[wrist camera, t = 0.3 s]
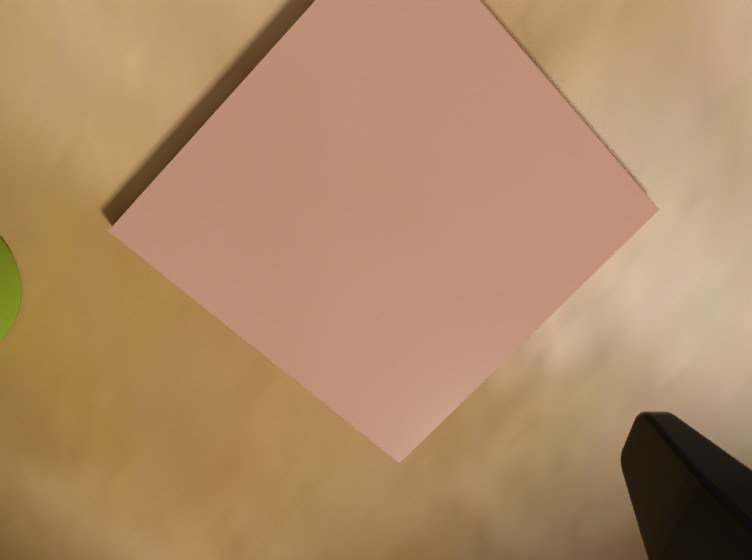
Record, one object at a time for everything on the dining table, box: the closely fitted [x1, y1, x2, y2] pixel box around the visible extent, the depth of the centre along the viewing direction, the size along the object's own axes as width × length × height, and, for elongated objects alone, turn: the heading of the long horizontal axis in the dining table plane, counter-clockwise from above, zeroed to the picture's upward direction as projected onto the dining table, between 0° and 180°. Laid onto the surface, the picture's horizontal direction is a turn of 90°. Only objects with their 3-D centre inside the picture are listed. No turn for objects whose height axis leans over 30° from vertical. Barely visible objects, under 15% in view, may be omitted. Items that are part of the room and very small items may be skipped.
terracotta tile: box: [109, 0, 659, 463], centre depth 23 cm, size 14×14×1 cm
